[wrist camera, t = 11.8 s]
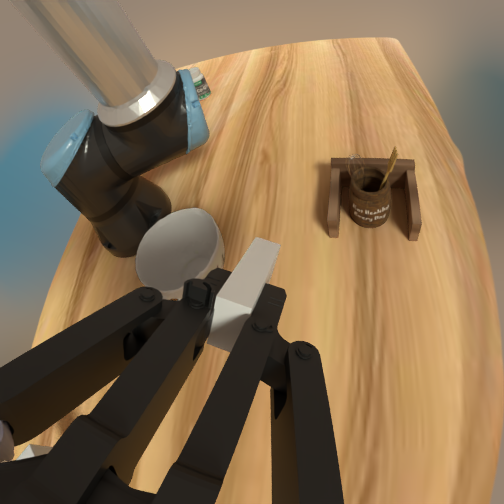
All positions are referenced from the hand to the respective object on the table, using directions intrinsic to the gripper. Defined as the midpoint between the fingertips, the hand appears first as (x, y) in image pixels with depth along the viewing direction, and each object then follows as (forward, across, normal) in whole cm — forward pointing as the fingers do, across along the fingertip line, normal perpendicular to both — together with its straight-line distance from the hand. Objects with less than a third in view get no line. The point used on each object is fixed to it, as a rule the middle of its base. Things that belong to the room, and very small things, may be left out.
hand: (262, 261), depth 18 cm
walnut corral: (+28, +11, -2) cm, 30 cm away
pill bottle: (+63, -33, +7) cm, 71 cm away
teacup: (+20, -10, -17) cm, 28 cm away
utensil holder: (+28, +10, -2) cm, 30 cm away
